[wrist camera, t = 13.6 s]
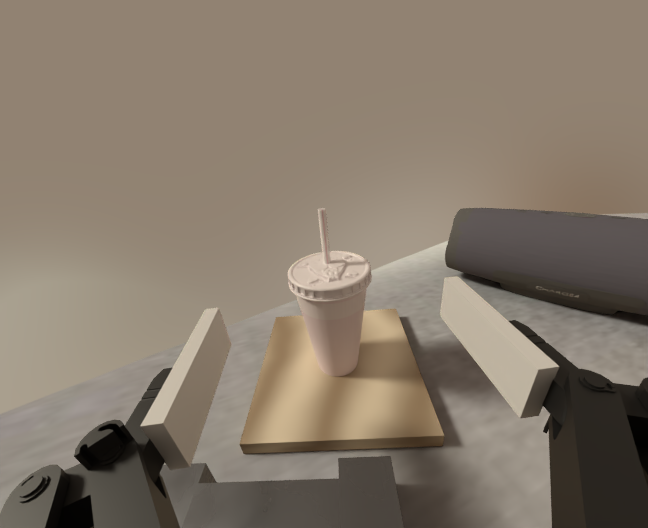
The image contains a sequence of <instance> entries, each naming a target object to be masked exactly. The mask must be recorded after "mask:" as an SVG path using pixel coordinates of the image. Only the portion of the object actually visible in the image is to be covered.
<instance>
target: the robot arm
mask: <svg viewBox="0 0 648 528" xmlns="http://www.w3.org/2000/svg"><path fill="white" fill-rule="evenodd" d="M440 316H441V318H442V319H443V320H444V322H445V323H446V324H447V325H448V327H449V328H450V329H451V331H452V332H453V333H454V334H455V336H456V337H457V338H458V340H459V341H460V342H461V343H462V345H463V346H464V347H465V348H466V350H467V351H468V352H469V354H470V355H471V356H472V357H473V359H474V360H475V361H476V363H477V364H478V365H479V366H480V368H481V369H482V370H483V372H484V373H485V374H486V375H487V377H488V378H489V379H490V381H491V382H492V383H493V384H494V386H495V387H496V388H497V389H498V391H499V392H500V393H501V395H502V396H503V397H504V398H505V400H506V401H507V402H508V404H509V405H510V406H511V407H512V409H513V410H514V411H515V413H516V414H517V415H518V416H519V418H526V417H533V416H539V414H540V411H541V409H542V407H543V406H544V407H545V408H546V409H547V411H548V412H549V413H550V416H549V419H548V421H547V423H546V425H545V427H544V430H543V432H545V433H547V432H548V429H549V450H550V479H551V508H552V528H648V378H645V379H643V381H642V382H641V384H640V385H639V386H631V385H623V384H615V383H612V382H611V381H610V380H609V379H607V378H605V377H603V376H602V375H600V374H597V373H595V372H592V371H589V370H584V369H578V368H577V367H576V366H574V365H573V364H572V363H571V362H570V361H568V360H567V359H566V358H565V357H564V356H562V355H561V354H560V353H559V352H558V351H556V350H555V349H554V348H553V347H552V346H550V345H549V344H548V343H546V342H545V341H544V340H543V339H542V338H541V337H540V336H538V335H537V334H536V333H535V332H534V331H532V330H531V329H530V328H529V327H528V326H526V325H524V324H522V323H520V322H518V321H516V320H512V321H507V320H506V319H505V318H504V317H503V316H502V315H501V314H500V313H498V312H497V311H496V310H495V309H494V308H493V307H492V306H491V305H489V304H488V303H487V302H486V301H485V300H484V299H483V298H481V297H480V296H479V295H478V294H477V293H476V292H475V291H474V290H472V289H471V288H470V287H469V286H468V285H467V284H466V283H465V282H463V281H462V280H461V279H460V278H459V277H458V276H455V277H447V278H444V287H443V295H442V303H441V311H440ZM230 347H231V341H230V338H229V335H228V333H227V330H226V327H225V324H224V321H223V318H222V315H221V313H220V310H219V308H212V309H206V310H205V311H204V313H203V315H202V316H201V318H200V320H199V322H198V323H197V325H196V327H195V329H194V331H193V332H192V334H191V336H190V338H189V340H188V341H187V343H186V345H185V347H184V349H183V350H182V352H181V354H180V356H179V357H178V359H177V361H176V363H175V365H174V366H173V368H167V369H163V370H162V371H161V372H160V373H159V374H158V375H157V376H156V377H155V378H154V379H153V381H152V382H151V384H150V385H149V387H148V389H147V392H145V394H144V395H143V397H142V400H141V401H140V402H139V403H138V405H137V407H136V408H135V410H134V412H133V413H132V415H131V416H130V418H129V420H128V421H127V423H126V425H125V426H124V424H123V423H122V422H121V421H120V420H111V421H107V422H105V423H103V424H101V425H99V426H97V427H96V428H94V429H93V430H92V431H90V432H89V433H88V434H87V435H86V436H85V437H84V438H83V439H82V440H81V441H80V443H79V445H78V446H77V448H76V450H75V455H74V457H75V458H76V459H77V460H78V461H79V462H80V463H81V464H79V465H76V466H74V467H72V468H69V469H67V470H65V471H63V470H62V469H61V468H60V467H59V466H58V465H49V466H46V467H43V468H41V469H39V470H37V471H36V472H34V473H32V474H31V475H29V476H28V477H27V478H26V479H25V480H23V481H22V482H21V483H20V484H19V485H18V486H17V487H16V488H15V489H14V490H13V492H12V493H11V494H10V496H9V497H8V499H7V501H6V502H5V504H4V506H3V509H2V511H1V513H0V528H180V526H179V523H178V520H177V517H176V514H175V512H174V509H173V506H172V503H171V500H170V497H169V495H168V492H167V489H166V486H165V483H164V480H163V478H162V476H161V475H160V471H161V469H162V467H163V464H164V462H165V463H166V465H167V466H168V468H169V469H170V470H173V469H180V468H187V467H190V466H191V463H192V460H193V457H194V454H195V451H196V448H197V445H198V442H199V439H200V436H201V433H202V430H203V427H204V424H205V421H206V418H207V415H208V412H209V409H210V406H211V403H212V400H213V397H214V395H215V392H216V389H217V386H218V383H219V380H220V377H221V374H222V371H223V368H224V365H225V362H226V359H227V356H228V353H229V350H230Z"/></svg>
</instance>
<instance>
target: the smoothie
mask: <svg viewBox="0 0 648 528" xmlns="http://www.w3.org/2000/svg"><path fill="white" fill-rule="evenodd" d="M318 215H319V225H320V234H321V243H322V252H319V253H315V254H311V255H308V256H306V257H303V258H301V259H299V260H298V261H296V262H295V263H294V264H293V265H292V266H291V267H290V269H289V271H288V279H289V284H288V285H289V287H290V290H291V291H292V292H293V293H294V294H295V295H296V297H297V300H298V303H299V307H300V309H301V312H302V315H303V318H304V322H305V325H306V328H307V331H308V334H309V337H310V340H311V343H312V346H313V349H314V353H315V356H316V359H317V362H318V365H319V367H320V369H321V370H322V371H323V372H324V373H325V374H327V375H330V376H335V377H339V376H345V375H347V374H349V373H351V372H352V371H353V370H354V369H355V368H356V366H357V364H358V356H359V348H360V339H361V330H362V322H363V313H364V304H365V297H366V288H367V287H368V286H369V284H370V283H371V278H372V275H371V267H370V264H369V262H368V261H367V260H366V259H365V258H364V257H362V256H360V255H358V254H355V253H351V252H344V251H329V241H328V229H327V219H326V209H325V208H320V209H318Z"/></svg>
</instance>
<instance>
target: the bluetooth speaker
mask: <svg viewBox="0 0 648 528" xmlns="http://www.w3.org/2000/svg"><path fill="white" fill-rule="evenodd" d="M445 261H446V265H447V267H449V268H452V269H455V270H458V271H461V272H464V273H467V274H471V275H475V276H478V277H482V278H486V279H488V280H492V281H495V282H499V283H500V285H501V287H502V288H503V289H505V290H508V291H511V292H514V293H517V294H521V295H524V296H528V297H532V298H536V299H540V300H544V301H548V302H552V303H556V304H560V305H564V306H569V307H573V308H577V309H582V310H586V311H591V312H596V313H603V314H614V313H615V312H617V311H618V310H621V311H626V312H630V313H635V314H641V315H648V219H640V218H629V217H619V216H607V215H595V214H586V213H574V212H571V213H570V212H553V211H537V210H517V209H494V208H466V209H460V210H459V211H458V213H457V214H456V216H455V218H454V222H453V226H452V230H451V234H450V237H449V241H448V245H447V248H446V253H445Z"/></svg>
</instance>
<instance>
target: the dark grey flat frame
mask: <svg viewBox="0 0 648 528" xmlns="http://www.w3.org/2000/svg"><path fill="white" fill-rule="evenodd" d="M338 462H339V479H314V480H284V481H254V482H224V483H217V482H216V481H215V479H214V477H213V475H212V474H211V472H210V470H209V468H208V466H207V465H206V463H200V464H191V466H190V467H187V468H180V469H173V470H170V469H169V468H168V466H167V465H163V467H162V469H161V471H160V475H161V476H162V478H163V480H164V483H165V486H166V489H167V492H168V495H169V497H170V500H171V503H172V506H173V509H174V512H175V514H176V517H177V520H178V523H179V526H180V528H404V525H403V520H402V514H401V509H400V504H399V499H398V493H397V488H396V483H395V478H394V472H393V467H392V462H391V457H390V456H383V457H357V458H338Z"/></svg>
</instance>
